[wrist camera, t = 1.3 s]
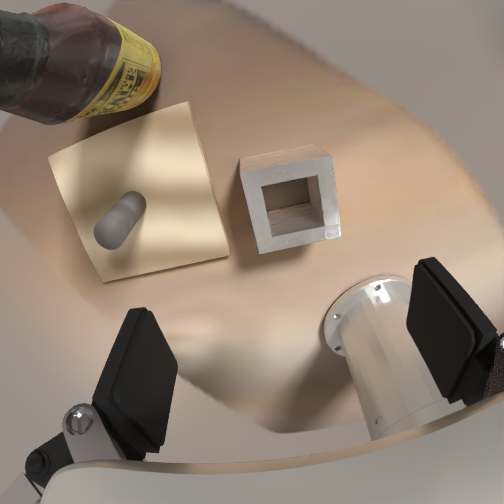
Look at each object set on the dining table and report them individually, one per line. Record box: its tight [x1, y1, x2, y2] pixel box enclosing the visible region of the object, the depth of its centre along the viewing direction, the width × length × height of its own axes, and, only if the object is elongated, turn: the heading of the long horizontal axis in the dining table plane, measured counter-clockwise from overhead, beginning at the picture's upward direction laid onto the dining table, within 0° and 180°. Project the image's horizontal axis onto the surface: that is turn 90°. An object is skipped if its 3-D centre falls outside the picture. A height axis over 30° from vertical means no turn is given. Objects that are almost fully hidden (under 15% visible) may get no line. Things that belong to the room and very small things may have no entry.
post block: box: [48, 101, 231, 282], centre depth 22 cm, size 14×14×7 cm
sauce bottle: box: [0, 3, 162, 125], centre depth 11 cm, size 6×6×20 cm
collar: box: [240, 144, 341, 254], centre depth 23 cm, size 6×6×5 cm
